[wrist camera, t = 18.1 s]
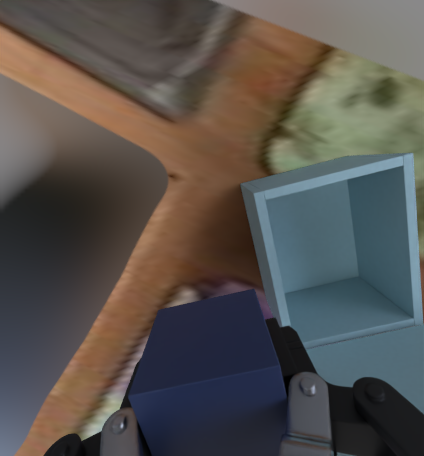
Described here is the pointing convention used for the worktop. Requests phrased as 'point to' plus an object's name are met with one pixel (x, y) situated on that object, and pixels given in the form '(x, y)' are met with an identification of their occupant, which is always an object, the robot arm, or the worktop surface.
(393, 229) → the light blue storage bin
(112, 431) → the robot arm
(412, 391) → the lid
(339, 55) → the worktop surface
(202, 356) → the block
